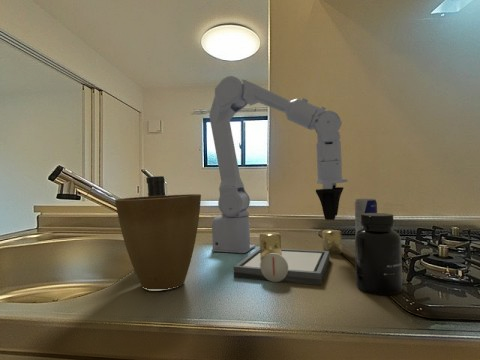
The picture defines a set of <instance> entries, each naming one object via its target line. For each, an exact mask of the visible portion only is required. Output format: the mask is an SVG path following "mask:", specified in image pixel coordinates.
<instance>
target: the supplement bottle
mask: <svg viewBox="0 0 480 360" xmlns="http://www.w3.org/2000/svg"><path fill="white" fill-rule="evenodd" d="M360 224H361V225H362V229H361V230H359V231H358V232H357V233H356V232H355V235H354V249H355V250H354V252H355V254H354V255H355V257H354V259H355V284H356V287H358V288H359V290H361V291H363V292H366V293H369V294H374V295H378V296H394V295H397V293H398V294H399V293H401V291H402V290H403V265H402V263H403V260H402V237H401V236H400V234H399V233H398V232H397V231H395V230H393V227H394V226H395V223H394V214H392V213H386V212H385V213H383V212H377V213H364V214H361V222H360Z"/></svg>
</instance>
